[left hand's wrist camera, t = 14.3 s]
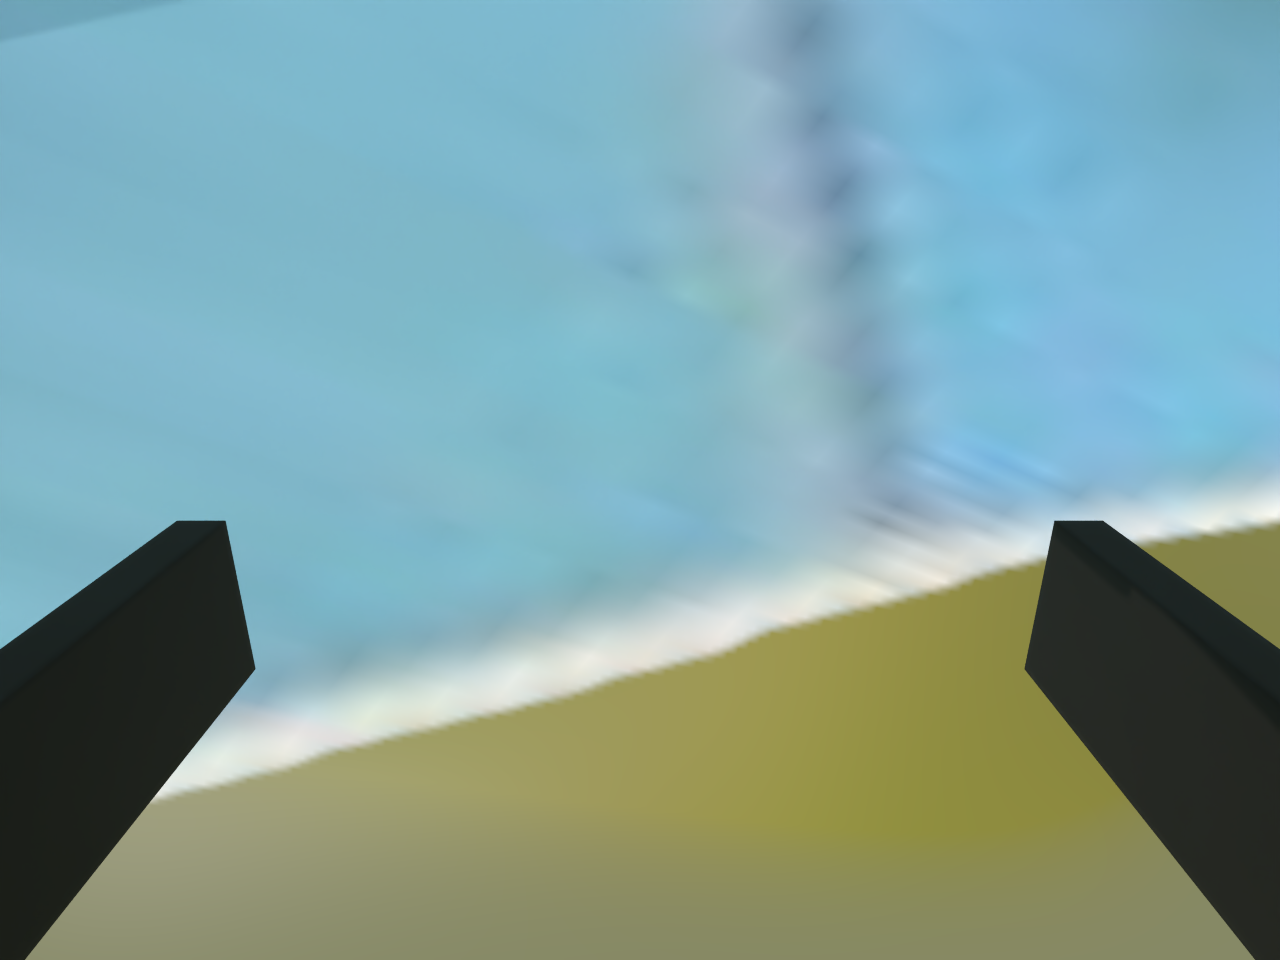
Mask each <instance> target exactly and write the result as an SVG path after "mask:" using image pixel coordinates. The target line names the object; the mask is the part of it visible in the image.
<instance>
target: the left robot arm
mask: <svg viewBox="0 0 1280 960" xmlns="http://www.w3.org/2000/svg"><path fill="white" fill-rule="evenodd" d="M254 670H255V664H254V659H253V654H252V649H251V644H250V639H249V635H248V630H247V625H246V620H245V615H244V610H243V605H242V600H241V595H240V590H239V585H238V580H237V575H236V570H235V565H234V560H233V556H232V551H231V546H230V541H229V536H228V531H227V526H226V521H176V522H175V523H173V524H172V525H171V526H169V527H168V528H166V529H165V530H164V531H162V532H161V533H160V534H158V535H157V536H155V537H154V538H153V539H151V540H150V541H149V542H147V543H146V544H144V545H143V546H142V547H140V548H139V549H138V550H136V551H135V552H133V553H132V554H131V555H129V556H128V557H127V558H125V559H124V560H122V561H121V562H120V563H118V564H117V565H116V566H114V567H113V568H111V569H110V570H109V571H107V572H106V573H105V574H103V575H102V576H100V577H99V578H98V579H96V580H95V581H94V582H92V583H91V584H89V585H88V586H87V587H85V588H84V589H82V590H81V591H80V592H78V593H77V594H76V595H74V596H73V597H71V598H70V599H69V600H67V601H66V602H65V603H63V604H62V605H60V606H59V607H58V608H56V609H55V610H54V611H52V612H51V613H49V614H48V615H47V616H45V617H44V618H43V619H41V620H40V621H38V622H37V623H36V624H34V625H33V626H32V627H30V628H29V629H27V630H26V631H25V632H23V633H22V634H21V635H19V636H18V637H16V638H15V639H14V640H12V641H11V642H10V643H8V644H7V645H5V646H4V647H3V648H1V649H0V960H25V959H26V958H27V956H28V955H29V954H30V953H31V951H32V950H33V949H34V947H35V946H36V945H37V944H38V942H39V941H40V940H41V939H42V937H43V936H44V935H45V934H46V932H47V931H48V930H49V929H50V927H51V926H52V925H53V924H54V922H55V921H56V920H57V919H58V917H59V916H60V915H61V913H62V912H63V911H64V910H65V908H66V907H67V906H68V905H69V903H70V902H71V901H72V900H73V898H74V897H75V896H76V895H77V893H78V892H79V891H80V890H81V888H82V887H83V886H84V884H85V883H86V882H87V881H88V879H89V878H90V877H91V876H92V874H93V873H94V872H95V871H96V869H97V868H98V867H99V866H100V864H101V863H102V862H103V861H104V859H105V858H106V857H107V856H108V854H109V853H110V852H111V850H112V849H113V848H114V847H115V845H116V844H117V843H118V842H119V840H120V839H121V838H122V837H123V835H124V834H125V833H126V832H127V830H128V829H129V828H130V827H131V825H132V824H133V823H134V821H135V820H136V819H137V818H138V816H139V815H140V814H141V813H142V811H143V810H144V809H145V808H146V806H147V805H148V804H149V803H150V801H151V800H152V799H153V798H154V796H155V795H156V794H157V792H158V791H159V790H160V789H161V787H162V786H163V785H164V784H165V782H166V781H167V780H168V779H169V777H170V776H171V775H172V774H173V772H174V771H175V770H176V769H177V767H178V766H179V765H180V764H181V762H182V761H183V760H184V758H185V757H186V756H187V755H188V753H189V752H190V751H191V750H192V748H193V747H194V746H195V745H196V743H197V742H198V741H199V740H200V738H201V737H202V736H203V735H204V733H205V732H206V731H207V729H208V728H209V727H210V726H211V724H212V723H213V722H214V721H215V719H216V718H217V717H218V716H219V714H220V713H221V712H222V711H223V709H224V708H225V707H226V706H227V704H228V703H229V702H230V700H231V699H232V698H233V697H234V695H235V694H236V693H237V692H238V690H239V689H240V688H241V687H242V685H243V684H244V683H245V682H246V680H247V679H248V678H249V677H250V675H251V674H252V673H253V672H254ZM1025 670H1026V671H1027V673H1028V674H1029V675H1030V677H1031V678H1032V679H1033V680H1034V682H1035V683H1036V684H1037V685H1038V687H1039V688H1040V689H1041V690H1042V692H1043V693H1044V694H1045V695H1046V697H1047V698H1048V699H1049V701H1050V702H1051V703H1052V704H1053V705H1054V707H1055V708H1056V709H1057V711H1058V712H1059V713H1060V714H1061V716H1062V717H1063V718H1064V719H1065V721H1066V722H1067V723H1068V724H1069V726H1070V727H1071V728H1072V729H1073V731H1074V732H1075V733H1076V735H1077V736H1078V737H1079V738H1080V740H1081V741H1082V742H1083V743H1084V745H1085V746H1086V747H1087V748H1088V750H1089V751H1090V752H1091V753H1092V755H1093V756H1094V757H1095V758H1096V760H1097V761H1098V762H1099V764H1100V765H1101V766H1102V767H1103V769H1104V770H1105V771H1106V772H1107V774H1108V775H1109V776H1110V777H1111V779H1112V780H1113V781H1114V782H1115V784H1116V785H1117V786H1118V787H1119V789H1120V790H1121V791H1122V792H1123V794H1124V795H1125V796H1126V798H1127V799H1128V800H1129V801H1130V803H1131V804H1132V805H1133V806H1134V808H1135V809H1136V810H1137V811H1138V813H1139V814H1140V815H1141V816H1142V818H1143V819H1144V820H1145V821H1146V823H1147V824H1148V825H1149V827H1150V828H1151V829H1152V830H1153V832H1154V833H1155V834H1156V835H1157V837H1158V838H1159V839H1160V840H1161V842H1162V843H1163V844H1164V845H1165V847H1166V848H1167V849H1168V850H1169V852H1170V853H1171V854H1172V855H1173V857H1174V858H1175V859H1176V861H1177V862H1178V863H1179V864H1180V866H1181V867H1182V868H1183V869H1184V871H1185V872H1186V873H1187V874H1188V876H1189V877H1190V878H1191V879H1192V881H1193V882H1194V883H1195V884H1196V886H1197V887H1198V888H1199V889H1200V891H1201V892H1202V893H1203V895H1204V896H1205V897H1206V898H1207V900H1208V901H1209V902H1210V903H1211V905H1212V906H1213V907H1214V908H1215V910H1216V911H1217V912H1218V913H1219V915H1220V916H1221V917H1222V918H1223V920H1224V921H1225V922H1226V924H1227V925H1228V926H1229V927H1230V929H1231V930H1232V931H1233V932H1234V934H1235V935H1236V936H1237V937H1238V939H1239V940H1240V941H1241V942H1242V944H1243V945H1244V946H1245V947H1246V949H1247V950H1248V951H1249V953H1250V954H1251V955H1252V956H1253V958H1254V959H1255V960H1280V649H1279V648H1277V647H1276V646H1275V645H1273V644H1272V643H1270V642H1269V641H1268V640H1266V639H1265V638H1263V637H1262V636H1261V635H1259V634H1258V633H1257V632H1255V631H1254V630H1253V629H1251V628H1250V627H1248V626H1247V625H1246V624H1244V623H1243V622H1242V621H1240V620H1239V619H1237V618H1236V617H1235V616H1233V615H1232V614H1231V613H1229V612H1228V611H1226V610H1225V609H1224V608H1222V607H1221V606H1219V605H1218V604H1217V603H1215V602H1214V601H1213V600H1211V599H1210V598H1209V597H1207V596H1206V595H1204V594H1203V593H1202V592H1200V591H1199V590H1198V589H1196V588H1195V587H1193V586H1192V585H1191V584H1189V583H1188V582H1186V581H1185V580H1184V579H1182V578H1181V577H1180V576H1178V575H1177V574H1175V573H1174V572H1173V571H1171V570H1170V569H1169V568H1167V567H1166V566H1164V565H1163V564H1162V563H1160V562H1159V561H1158V560H1156V559H1155V558H1153V557H1152V556H1151V555H1149V554H1148V553H1147V552H1145V551H1144V550H1142V549H1141V548H1140V547H1138V546H1137V545H1136V544H1134V543H1133V542H1131V541H1130V540H1129V539H1127V538H1126V537H1125V536H1123V535H1122V534H1120V533H1119V532H1118V531H1116V530H1115V529H1114V528H1112V527H1111V526H1109V525H1108V524H1107V523H1105V522H1104V521H1054V526H1053V531H1052V536H1051V541H1050V546H1049V551H1048V556H1047V560H1046V565H1045V570H1044V575H1043V580H1042V585H1041V590H1040V595H1039V600H1038V605H1037V610H1036V615H1035V620H1034V625H1033V630H1032V635H1031V640H1030V644H1029V649H1028V654H1027V659H1026V664H1025Z"/></svg>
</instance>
